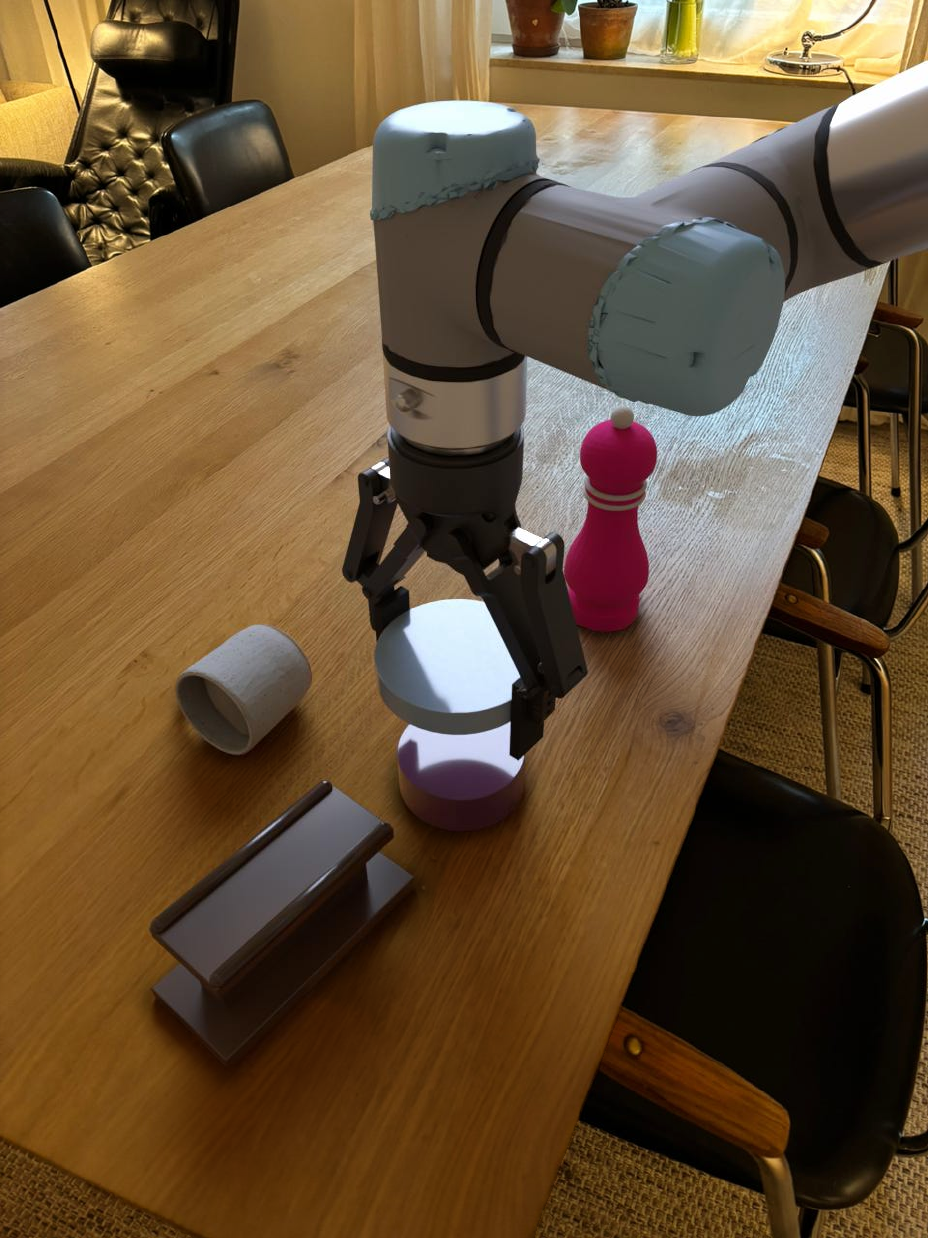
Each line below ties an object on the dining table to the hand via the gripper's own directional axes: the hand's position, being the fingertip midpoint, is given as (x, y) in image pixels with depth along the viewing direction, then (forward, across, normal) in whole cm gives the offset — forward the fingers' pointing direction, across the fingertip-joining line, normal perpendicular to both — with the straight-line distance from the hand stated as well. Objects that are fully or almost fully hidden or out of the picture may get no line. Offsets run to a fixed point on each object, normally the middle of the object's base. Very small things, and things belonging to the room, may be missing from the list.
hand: (458, 705), depth 68 cm
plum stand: (+8, 0, 0) cm, 8 cm away
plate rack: (+8, 0, -17) cm, 19 cm away
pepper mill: (+8, -3, +23) cm, 25 cm away
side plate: (-3, 0, 0) cm, 3 cm away
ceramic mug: (+8, -18, -6) cm, 20 cm away
